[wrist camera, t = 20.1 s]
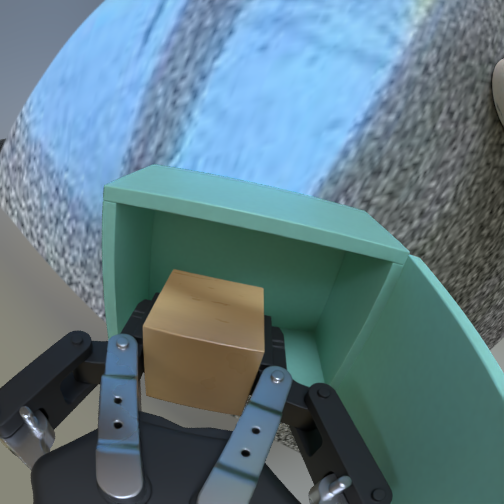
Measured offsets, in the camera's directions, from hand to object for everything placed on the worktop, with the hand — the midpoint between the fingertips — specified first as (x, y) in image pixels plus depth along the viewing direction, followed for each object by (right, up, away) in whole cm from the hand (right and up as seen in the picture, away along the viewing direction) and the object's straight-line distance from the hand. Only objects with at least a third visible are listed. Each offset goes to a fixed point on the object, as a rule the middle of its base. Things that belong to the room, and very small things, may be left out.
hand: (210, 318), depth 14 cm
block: (0, 0, 0) cm, 0 cm away
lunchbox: (+2, +3, +7) cm, 8 cm away
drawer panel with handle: (+7, -5, -7) cm, 11 cm away
